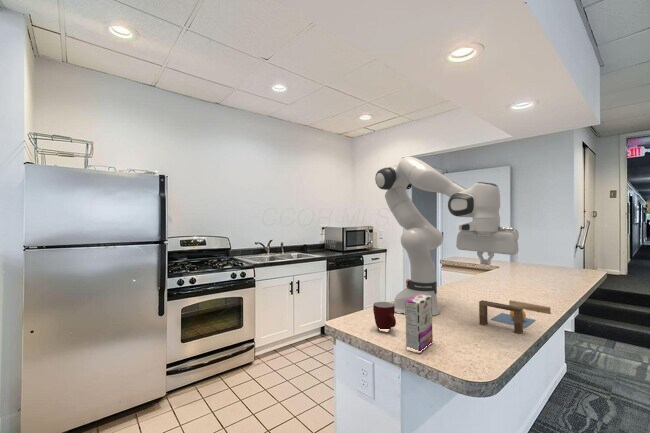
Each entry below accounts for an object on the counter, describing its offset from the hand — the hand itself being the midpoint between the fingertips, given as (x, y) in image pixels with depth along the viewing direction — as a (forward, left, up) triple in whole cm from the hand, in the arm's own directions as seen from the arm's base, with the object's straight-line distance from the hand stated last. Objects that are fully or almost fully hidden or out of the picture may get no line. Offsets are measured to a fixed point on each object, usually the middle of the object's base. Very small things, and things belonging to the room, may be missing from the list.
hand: (485, 264), depth 109 cm
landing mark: (+13, +24, -26) cm, 38 cm away
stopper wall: (+24, +43, -26) cm, 56 cm away
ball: (+15, +23, -23) cm, 36 cm away
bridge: (+6, +11, -26) cm, 29 cm away
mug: (-35, -6, -26) cm, 44 cm away
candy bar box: (-22, -17, -26) cm, 38 cm away
